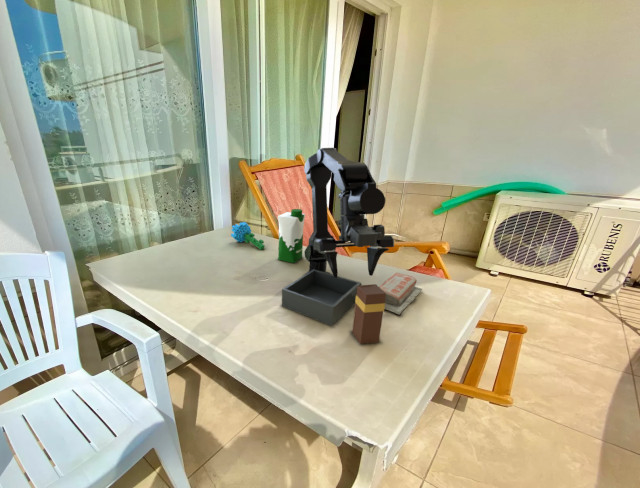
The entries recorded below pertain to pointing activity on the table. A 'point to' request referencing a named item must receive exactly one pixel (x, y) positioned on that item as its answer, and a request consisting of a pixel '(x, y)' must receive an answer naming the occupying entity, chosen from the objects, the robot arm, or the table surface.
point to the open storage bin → (320, 296)
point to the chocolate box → (368, 313)
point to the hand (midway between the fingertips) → (353, 276)
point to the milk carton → (291, 235)
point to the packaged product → (399, 292)
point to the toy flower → (245, 235)
